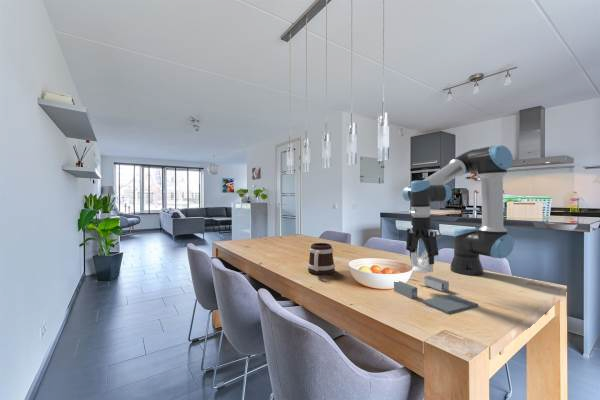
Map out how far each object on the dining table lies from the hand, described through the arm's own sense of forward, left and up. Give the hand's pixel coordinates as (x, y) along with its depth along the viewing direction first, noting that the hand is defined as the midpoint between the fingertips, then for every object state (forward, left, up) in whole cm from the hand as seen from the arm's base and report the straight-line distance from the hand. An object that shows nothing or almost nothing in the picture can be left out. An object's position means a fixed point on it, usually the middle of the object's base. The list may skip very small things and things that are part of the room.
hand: (421, 269), depth 116 cm
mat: (+2, +15, -9) cm, 18 cm away
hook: (0, 0, -1) cm, 1 cm away
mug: (+26, -44, -10) cm, 52 cm away
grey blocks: (0, 0, -9) cm, 9 cm away
